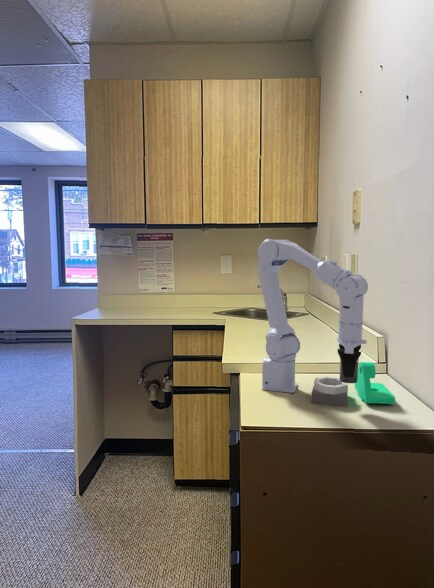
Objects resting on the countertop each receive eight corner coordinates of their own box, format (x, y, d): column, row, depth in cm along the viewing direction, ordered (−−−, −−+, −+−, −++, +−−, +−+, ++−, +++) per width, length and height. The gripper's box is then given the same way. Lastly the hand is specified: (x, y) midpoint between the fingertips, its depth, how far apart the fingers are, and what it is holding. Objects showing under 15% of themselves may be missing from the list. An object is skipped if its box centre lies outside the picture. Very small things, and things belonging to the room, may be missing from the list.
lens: (338, 382, 101) (339, 359, 100) (339, 376, 105) (340, 355, 105) (357, 384, 99) (358, 361, 99) (357, 378, 104) (358, 356, 103)
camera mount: (395, 407, 103) (397, 369, 102) (365, 406, 103) (367, 368, 102) (381, 391, 115) (382, 357, 113) (354, 390, 115) (355, 356, 114)
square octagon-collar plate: (311, 403, 105) (311, 385, 105) (314, 391, 114) (315, 375, 113) (346, 407, 102) (347, 388, 102) (347, 395, 111) (348, 378, 110)
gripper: (367, 329, 93) (365, 384, 94) (366, 318, 106) (364, 367, 108) (336, 326, 95) (334, 381, 96) (339, 317, 109) (337, 365, 110)
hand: (348, 374), depth 102 cm, fingers closed on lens, 4 cm apart
